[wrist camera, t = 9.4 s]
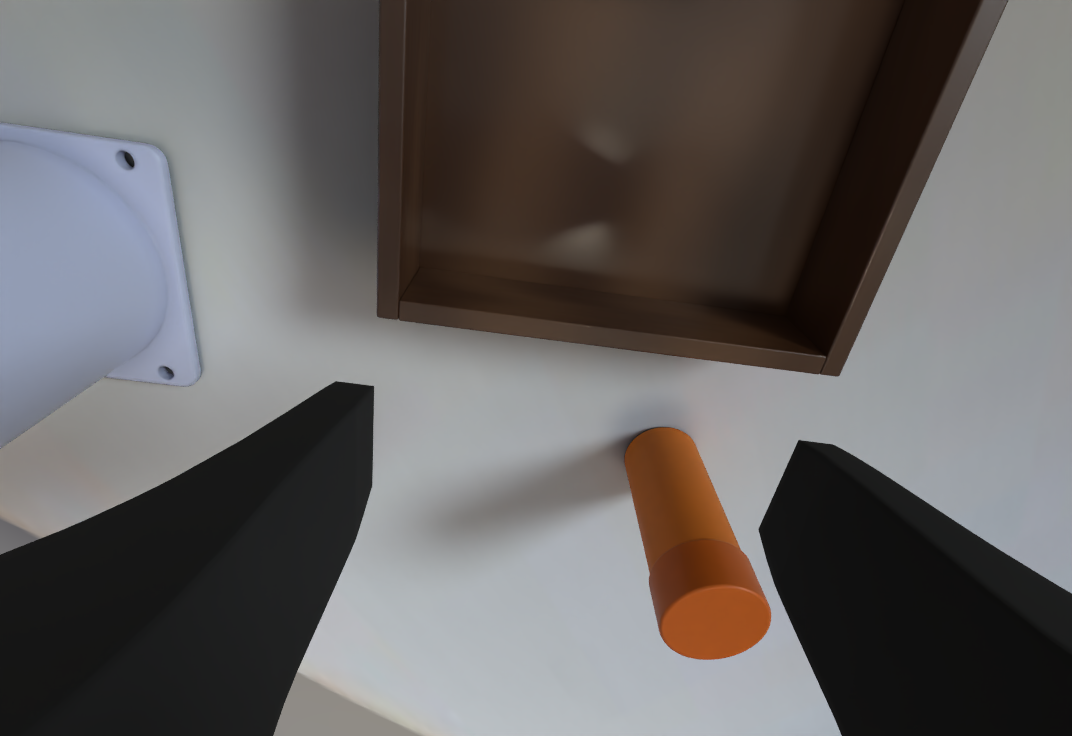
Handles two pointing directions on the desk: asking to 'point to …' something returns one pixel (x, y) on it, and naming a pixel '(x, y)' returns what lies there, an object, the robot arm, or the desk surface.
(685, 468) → the glue stick
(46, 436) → the desk surface
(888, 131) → the box
